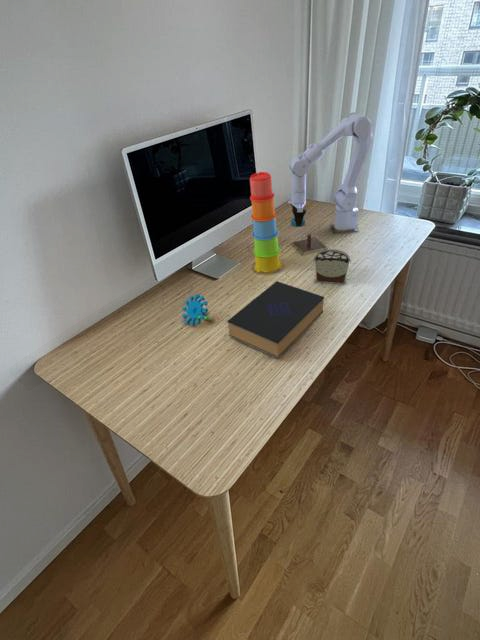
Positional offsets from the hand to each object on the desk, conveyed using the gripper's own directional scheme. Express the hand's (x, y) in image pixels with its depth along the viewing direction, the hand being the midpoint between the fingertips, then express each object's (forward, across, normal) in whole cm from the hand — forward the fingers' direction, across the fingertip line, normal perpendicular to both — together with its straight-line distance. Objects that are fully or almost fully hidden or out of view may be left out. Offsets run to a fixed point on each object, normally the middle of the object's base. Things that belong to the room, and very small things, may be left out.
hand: (298, 222), depth 160 cm
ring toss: (+6, +11, +4) cm, 13 cm away
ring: (+1, 0, 0) cm, 1 cm away
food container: (+6, +36, +8) cm, 37 cm away
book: (+6, +62, -11) cm, 63 cm away
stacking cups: (+6, +26, -14) cm, 30 cm away
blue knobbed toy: (+6, +57, -36) cm, 68 cm away
